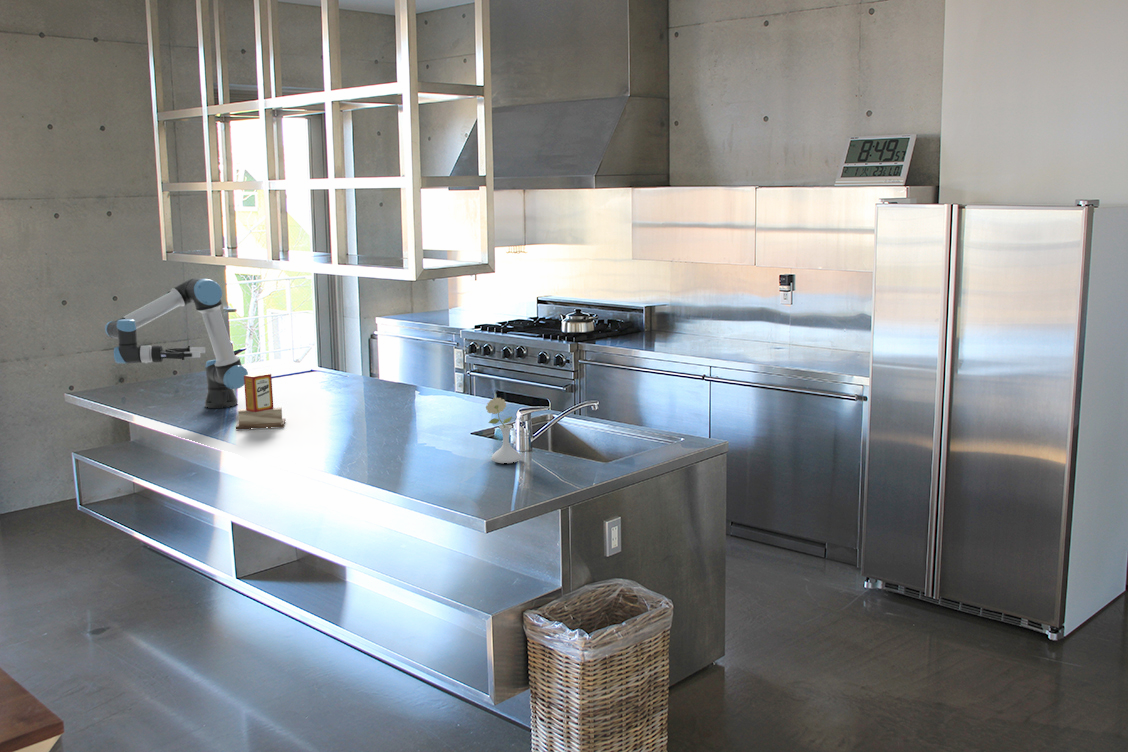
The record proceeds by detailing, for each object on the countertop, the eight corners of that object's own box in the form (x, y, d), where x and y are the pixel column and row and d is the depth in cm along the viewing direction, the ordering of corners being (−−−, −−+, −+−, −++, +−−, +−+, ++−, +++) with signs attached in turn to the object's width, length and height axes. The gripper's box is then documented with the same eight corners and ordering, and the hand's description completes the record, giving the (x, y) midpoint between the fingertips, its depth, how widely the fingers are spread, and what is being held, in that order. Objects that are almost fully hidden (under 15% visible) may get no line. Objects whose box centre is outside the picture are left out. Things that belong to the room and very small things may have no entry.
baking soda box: (264, 406, 423) (262, 371, 420) (273, 408, 419) (271, 373, 416) (246, 410, 415) (243, 374, 412) (255, 412, 411) (252, 376, 408)
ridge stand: (239, 424, 422) (238, 407, 421) (285, 421, 426) (284, 405, 425) (235, 430, 411) (234, 413, 409) (283, 427, 415) (282, 411, 413)
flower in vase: (521, 457, 362) (520, 394, 357) (521, 465, 350) (520, 400, 346) (487, 458, 361) (486, 394, 357) (486, 466, 350) (484, 400, 346)
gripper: (159, 358, 431) (207, 356, 435) (146, 366, 407) (198, 364, 411) (157, 341, 429) (206, 340, 434) (145, 349, 405) (197, 347, 409)
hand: (202, 352), depth 422 cm, fingers open, 13 cm apart
